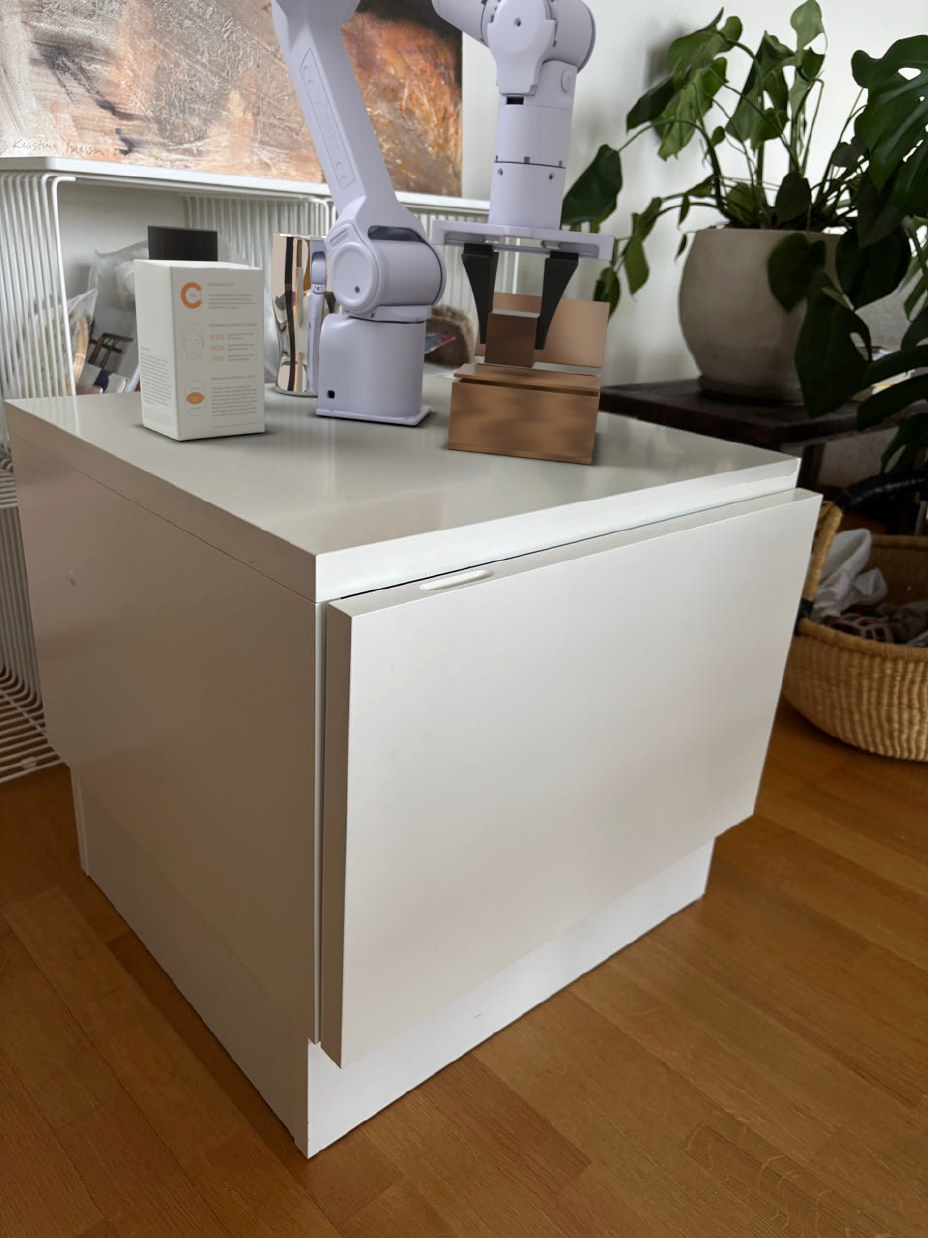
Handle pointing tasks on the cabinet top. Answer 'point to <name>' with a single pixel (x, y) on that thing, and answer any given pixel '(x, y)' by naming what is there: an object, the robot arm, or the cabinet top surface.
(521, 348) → the block
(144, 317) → the small box
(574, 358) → the flap
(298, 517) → the cabinet top surface
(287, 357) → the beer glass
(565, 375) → the wooden box
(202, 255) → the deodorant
